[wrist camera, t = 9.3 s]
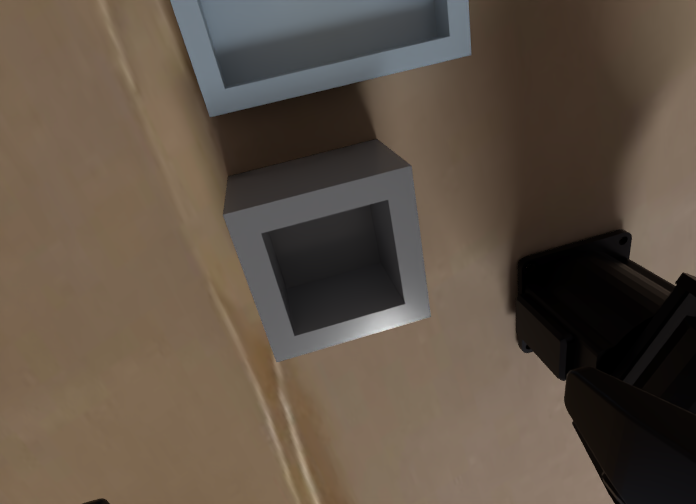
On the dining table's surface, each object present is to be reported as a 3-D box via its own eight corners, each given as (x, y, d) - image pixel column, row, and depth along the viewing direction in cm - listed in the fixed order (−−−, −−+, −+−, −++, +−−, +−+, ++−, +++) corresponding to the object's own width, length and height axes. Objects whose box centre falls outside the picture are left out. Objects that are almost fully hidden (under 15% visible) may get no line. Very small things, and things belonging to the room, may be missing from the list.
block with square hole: (376, 138, 19) (411, 165, 15) (397, 266, 22) (430, 316, 18) (227, 176, 18) (223, 214, 14) (271, 302, 21) (276, 362, 17)
